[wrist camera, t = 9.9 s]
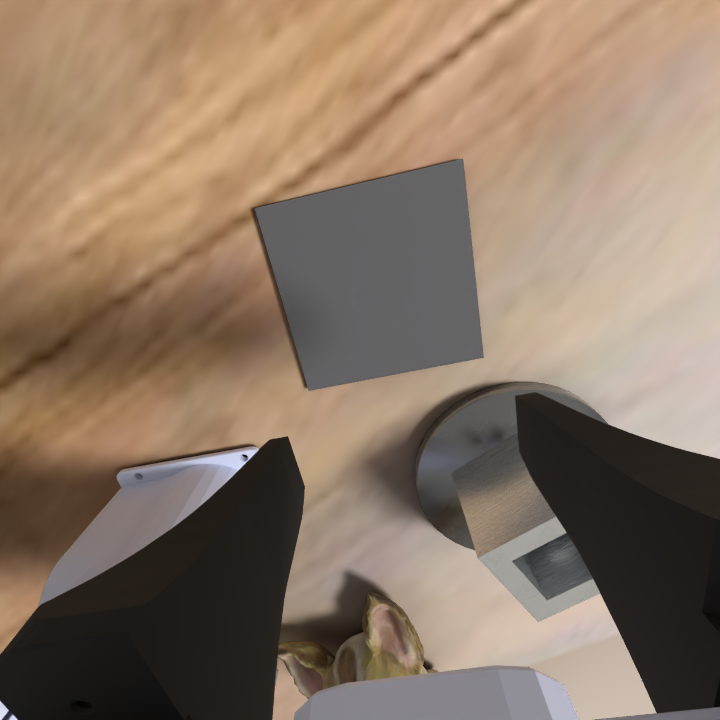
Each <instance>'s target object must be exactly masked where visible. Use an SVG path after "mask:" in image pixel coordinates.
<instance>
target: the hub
mask: <svg viewBox="0 0 720 720" xmlns="http://www.w3.org/2000/svg"><path fill="white" fill-rule="evenodd" d="M533 392H537V393H539V394H542V395H544V396H546V397H548V398H550V399H553V400H555V401H557V402H559V403H561V404H563V405H565V406H567V407H570V408H572V409H574V410H576V411H578V412H580V413H583V414H585V415H587V416H589V417H592V418H594V419H596V420H599V421H601V422H603V423H606V424H608V423H607V422H606V421H605V420H604V419H603V418H602V417H601V416H600V415H599V414H598V413H597V412H596V411H595V410H594V409H593V408H592V407H590V406H589V405H588V404H587V403H586V402H584V401H583V400H582V399H581V398H579V397H578V396H576V395H574V394H572V393H571V392H569V391H566V390H564V389H561V388H559V387H556V386H552V385H548V384H543V383H534V382H515V383H507V384H501V385H497V386H492V387H489V388H486V389H483V390H480V391H478V392H475V393H473V394H471V395H469V396H467V397H465V398H463V399H462V400H460V401H459V402H457V403H455V404H454V405H452V406H451V407H450V408H449V409H448V410H446V411H445V412H444V413H443V414H442V415H441V416H440V417H439V418H438V419H437V420H436V421H435V422H434V423H433V425H432V426H431V427H430V429H429V430H428V432H427V433H426V435H425V437H424V439H423V440H422V442H421V445H420V448H419V450H418V453H417V458H416V463H415V478H416V486H417V491H418V497H419V500H420V503H421V507H422V509H423V511H424V513H425V515H426V516H427V518H428V519H429V521H430V522H431V523H432V525H433V526H434V527H435V528H436V529H437V530H438V531H439V532H441V533H442V534H443V535H444V536H446V537H447V538H449V539H450V540H452V541H454V542H455V543H457V544H460V545H462V546H464V547H467V548H470V549H473V550H475V547H474V544H473V541H472V538H471V534H470V531H469V528H468V525H467V522H466V519H465V515H464V512H463V509H462V506H461V503H460V500H459V496H458V493H457V490H456V487H455V484H454V481H453V477H452V474H451V473H452V472H453V471H455V470H457V469H458V468H460V467H462V466H463V465H465V464H466V463H468V462H470V461H471V460H473V459H475V458H476V457H478V456H480V455H481V454H483V453H485V452H486V451H488V450H490V449H491V448H493V447H494V446H496V445H498V444H499V443H501V442H503V441H504V440H506V439H508V438H509V437H511V436H513V435H514V434H516V433H518V430H517V417H516V403H515V396H516V395H522V394H528V393H533Z"/></svg>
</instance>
